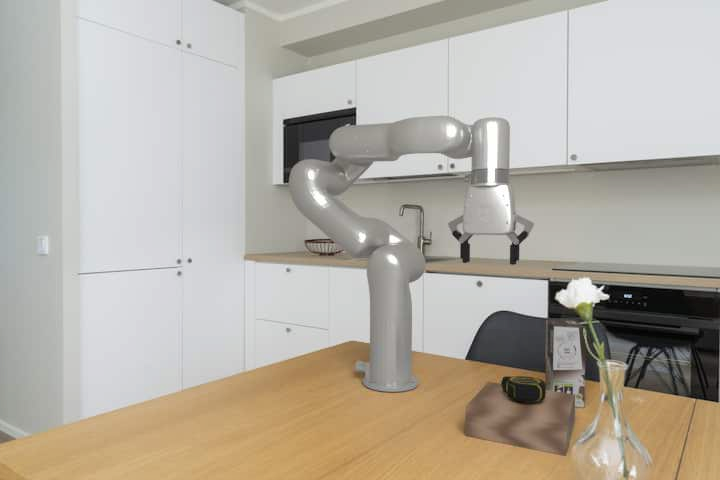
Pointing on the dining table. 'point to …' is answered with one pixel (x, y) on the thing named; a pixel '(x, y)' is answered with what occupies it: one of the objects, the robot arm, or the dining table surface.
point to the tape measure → (524, 388)
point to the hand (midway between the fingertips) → (489, 263)
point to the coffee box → (566, 358)
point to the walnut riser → (522, 419)
